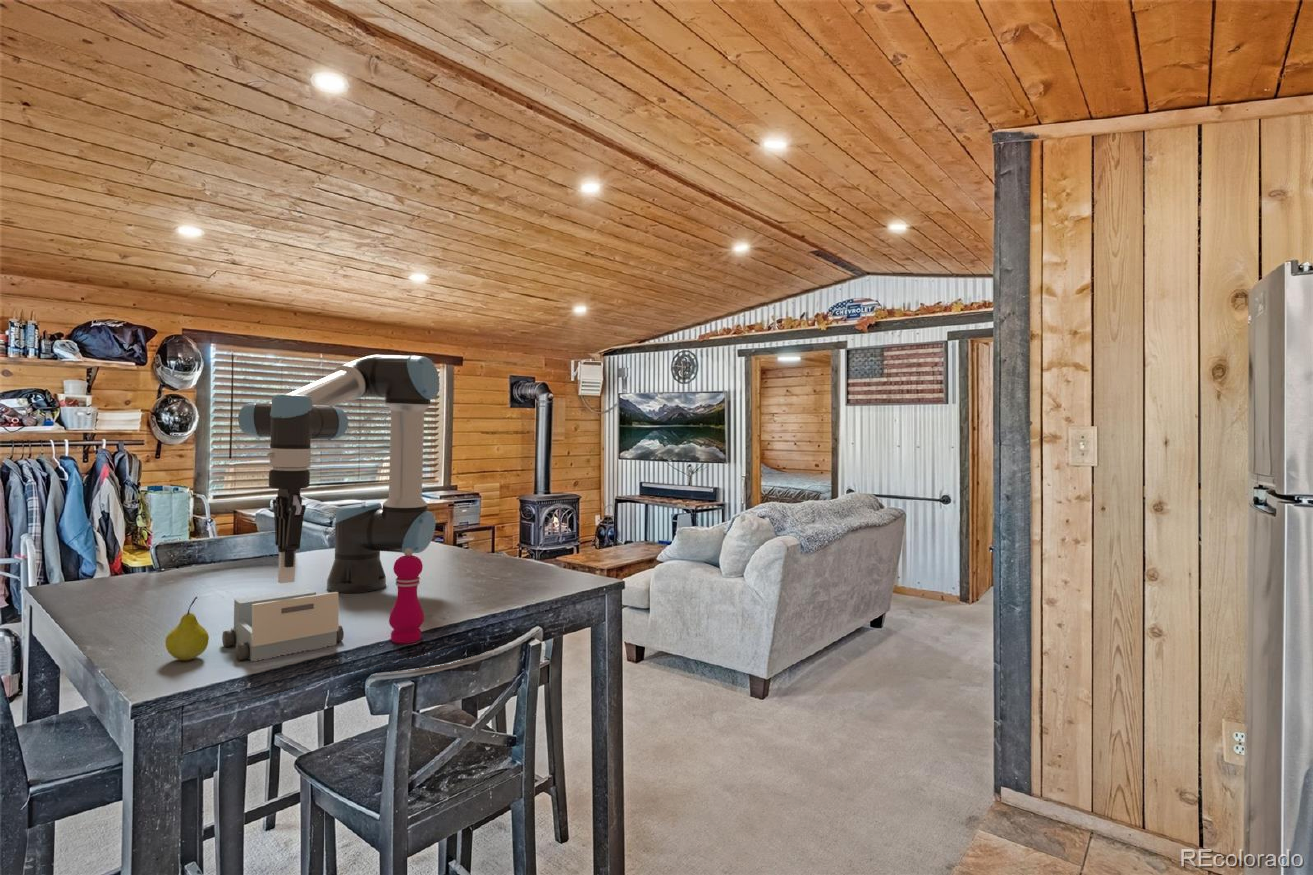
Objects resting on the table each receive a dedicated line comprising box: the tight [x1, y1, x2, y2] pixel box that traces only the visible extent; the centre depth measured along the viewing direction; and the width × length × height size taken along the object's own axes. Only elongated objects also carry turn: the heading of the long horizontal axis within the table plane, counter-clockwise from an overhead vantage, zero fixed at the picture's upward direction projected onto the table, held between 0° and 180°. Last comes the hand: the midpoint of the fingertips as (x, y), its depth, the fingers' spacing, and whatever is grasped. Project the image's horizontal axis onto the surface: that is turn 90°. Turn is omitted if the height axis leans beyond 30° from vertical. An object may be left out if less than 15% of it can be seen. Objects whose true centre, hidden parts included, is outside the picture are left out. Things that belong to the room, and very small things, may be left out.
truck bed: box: [221, 588, 345, 663], centre depth 147 cm, size 15×20×9 cm
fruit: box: [164, 596, 210, 661], centre depth 136 cm, size 7×7×12 cm
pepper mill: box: [388, 548, 425, 644], centre depth 153 cm, size 7×7×20 cm
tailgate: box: [252, 591, 340, 646], centre depth 141 cm, size 1×16×8 cm, turn 135°
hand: (286, 581), depth 145 cm, fingers closed
